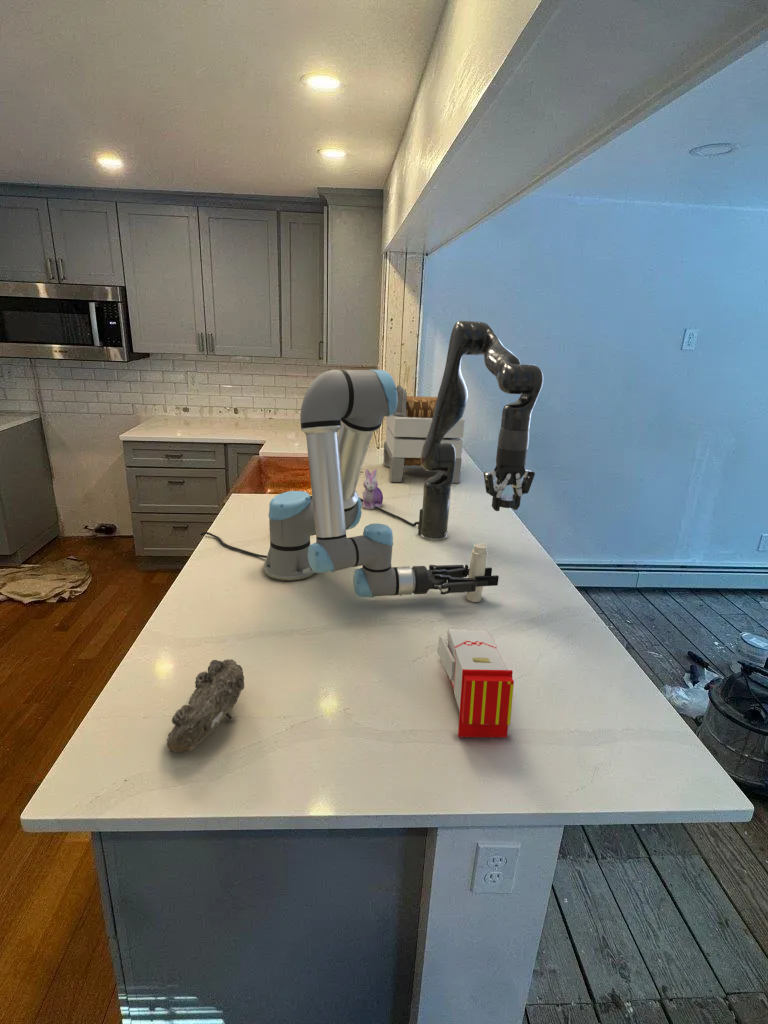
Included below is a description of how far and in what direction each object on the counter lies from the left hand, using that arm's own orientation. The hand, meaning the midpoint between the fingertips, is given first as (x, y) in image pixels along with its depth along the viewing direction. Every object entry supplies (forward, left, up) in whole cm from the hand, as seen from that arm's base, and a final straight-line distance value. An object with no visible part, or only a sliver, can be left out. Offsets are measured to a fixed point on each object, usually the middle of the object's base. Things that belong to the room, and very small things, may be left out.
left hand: (494, 576), depth 156 cm
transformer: (-43, +117, -7) cm, 125 cm away
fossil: (-48, -66, -7) cm, 82 cm away
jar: (-5, -2, -7) cm, 8 cm away
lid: (+1, -1, +23) cm, 23 cm away
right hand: (+1, -1, +20) cm, 20 cm away
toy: (-1, -44, -7) cm, 44 cm away
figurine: (-52, +62, -7) cm, 81 cm away
